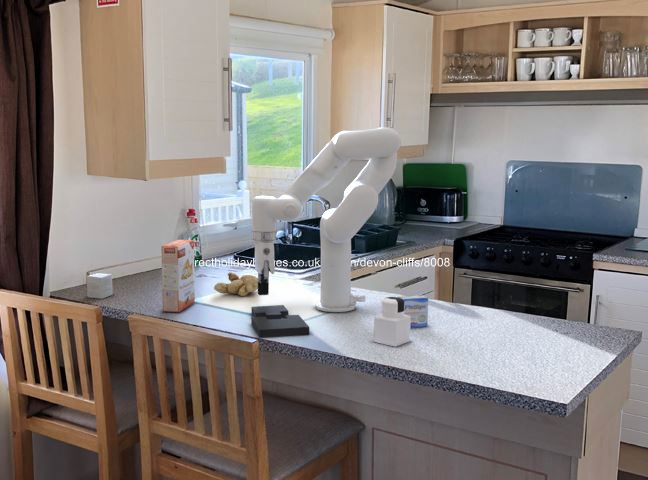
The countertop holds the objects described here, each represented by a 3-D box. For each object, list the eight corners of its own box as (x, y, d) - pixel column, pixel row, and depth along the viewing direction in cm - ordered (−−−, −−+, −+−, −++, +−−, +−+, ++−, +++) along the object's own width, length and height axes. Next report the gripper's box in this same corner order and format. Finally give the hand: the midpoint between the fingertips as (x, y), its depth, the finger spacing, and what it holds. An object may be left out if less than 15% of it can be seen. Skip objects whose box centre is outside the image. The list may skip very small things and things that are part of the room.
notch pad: (298, 321, 225) (298, 314, 224) (309, 334, 211) (309, 326, 211) (251, 324, 221) (251, 317, 221) (259, 337, 208) (259, 329, 208)
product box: (98, 293, 261) (97, 272, 259) (113, 295, 259) (112, 274, 257) (87, 297, 255) (85, 276, 254) (102, 299, 253) (101, 277, 252)
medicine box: (402, 328, 217) (402, 299, 216) (396, 325, 222) (397, 295, 220) (427, 327, 219) (428, 297, 218) (421, 323, 224) (422, 294, 222)
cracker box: (180, 313, 234) (178, 246, 231) (161, 312, 236) (159, 245, 232) (196, 302, 248) (194, 239, 244) (179, 301, 249) (177, 238, 245)
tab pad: (283, 311, 237) (283, 304, 236) (290, 320, 226) (290, 313, 225) (251, 313, 234) (251, 306, 234) (257, 322, 224) (257, 315, 223)
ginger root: (271, 285, 268) (268, 264, 265) (257, 306, 254) (254, 284, 251) (229, 284, 272) (226, 263, 269) (213, 304, 258) (210, 283, 255)
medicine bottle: (388, 336, 209) (389, 294, 207) (410, 341, 205) (411, 297, 203) (373, 342, 204) (374, 298, 202) (395, 347, 200) (396, 302, 197)
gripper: (280, 240, 229) (279, 299, 232) (271, 233, 243) (270, 289, 246) (255, 240, 227) (254, 300, 230) (248, 233, 241) (247, 289, 245)
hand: (263, 294), depth 238 cm, fingers closed
